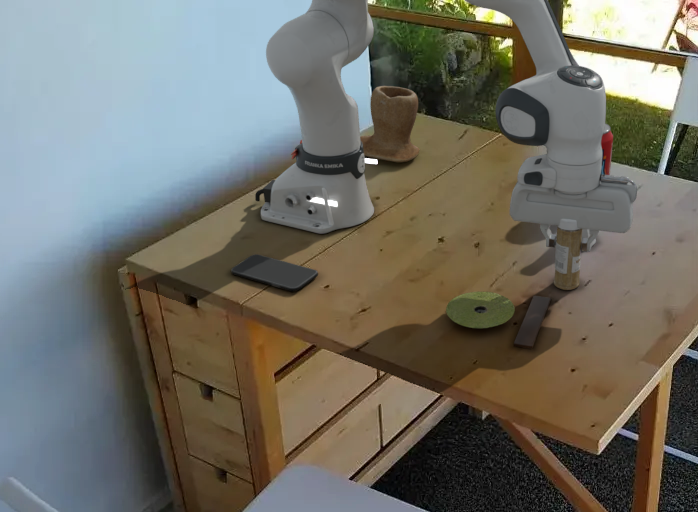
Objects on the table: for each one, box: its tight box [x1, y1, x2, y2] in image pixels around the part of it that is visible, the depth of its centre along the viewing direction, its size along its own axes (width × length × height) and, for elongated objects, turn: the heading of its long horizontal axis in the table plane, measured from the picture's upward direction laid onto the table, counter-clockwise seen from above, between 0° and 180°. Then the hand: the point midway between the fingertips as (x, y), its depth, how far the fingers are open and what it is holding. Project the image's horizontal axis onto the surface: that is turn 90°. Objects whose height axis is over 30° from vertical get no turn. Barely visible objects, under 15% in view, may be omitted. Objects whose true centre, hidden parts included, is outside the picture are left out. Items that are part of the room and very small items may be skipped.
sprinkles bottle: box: [553, 219, 582, 291], centre depth 159 cm, size 5×5×13 cm
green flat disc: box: [445, 291, 516, 329], centre depth 154 cm, size 11×11×2 cm
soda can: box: [601, 122, 614, 175], centre depth 186 cm, size 8×8×15 cm
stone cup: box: [360, 85, 420, 164], centre depth 205 cm, size 15×12×15 cm
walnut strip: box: [513, 295, 552, 350], centre depth 153 cm, size 3×15×1 cm, turn 164°
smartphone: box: [230, 253, 319, 292], centre depth 167 cm, size 7×1×15 cm
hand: (568, 247), depth 159 cm, fingers open, 5 cm apart
